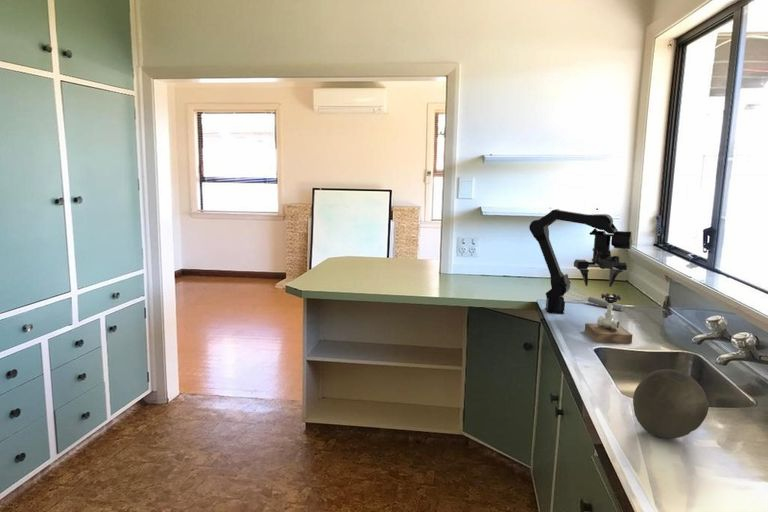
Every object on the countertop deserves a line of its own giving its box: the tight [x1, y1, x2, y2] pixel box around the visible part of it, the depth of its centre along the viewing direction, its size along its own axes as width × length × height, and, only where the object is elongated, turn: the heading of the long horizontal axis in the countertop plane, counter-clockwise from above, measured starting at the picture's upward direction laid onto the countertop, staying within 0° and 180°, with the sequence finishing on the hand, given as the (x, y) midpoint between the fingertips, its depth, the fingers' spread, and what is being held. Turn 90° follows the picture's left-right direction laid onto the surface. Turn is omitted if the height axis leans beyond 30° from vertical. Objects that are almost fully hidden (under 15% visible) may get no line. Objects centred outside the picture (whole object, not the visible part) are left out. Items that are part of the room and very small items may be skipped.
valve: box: [596, 293, 622, 330], centre depth 187 cm, size 7×7×12 cm
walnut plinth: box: [584, 323, 633, 344], centre depth 188 cm, size 12×12×3 cm
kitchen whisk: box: [562, 286, 628, 312], centre depth 234 cm, size 6×34×6 cm, turn 41°
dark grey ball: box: [632, 368, 710, 440], centre depth 117 cm, size 14×14×15 cm
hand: (598, 286), depth 209 cm, fingers open, 9 cm apart
